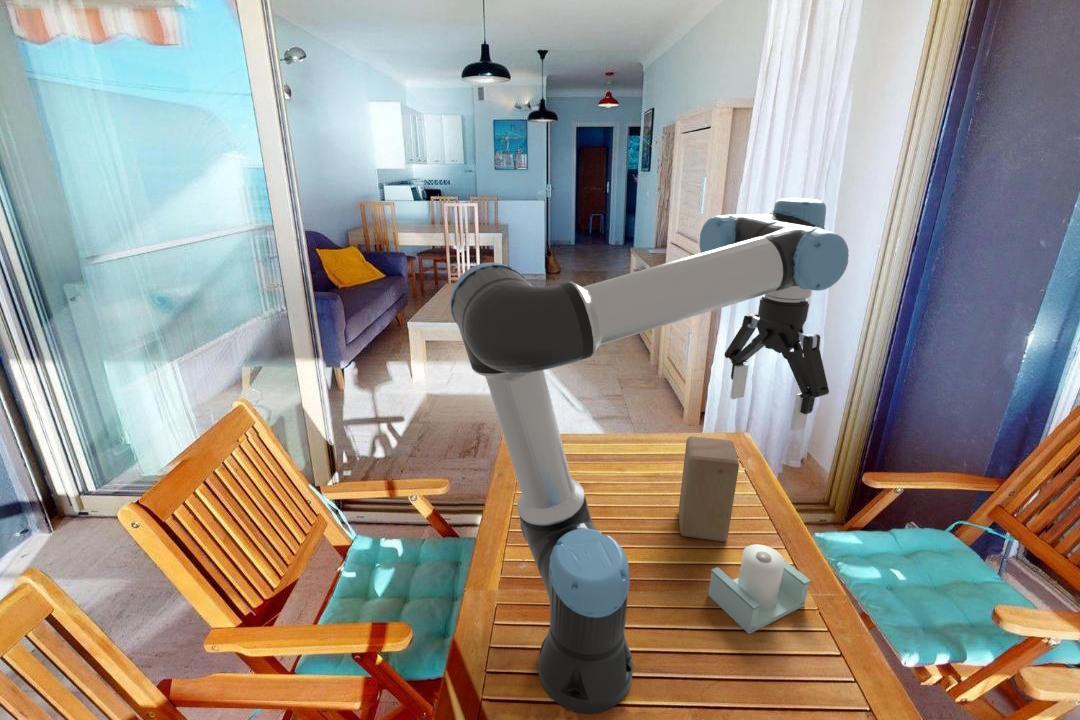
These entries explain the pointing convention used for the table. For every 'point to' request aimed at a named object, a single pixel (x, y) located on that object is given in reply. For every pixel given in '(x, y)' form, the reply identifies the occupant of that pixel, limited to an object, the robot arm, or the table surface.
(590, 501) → the table surface
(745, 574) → the roll
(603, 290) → the robot arm
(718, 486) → the wooden block
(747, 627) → the cradle
